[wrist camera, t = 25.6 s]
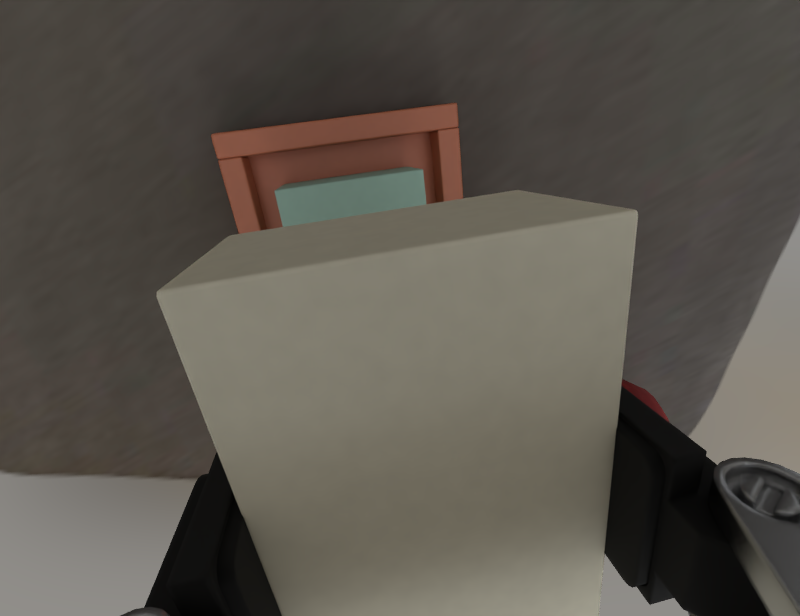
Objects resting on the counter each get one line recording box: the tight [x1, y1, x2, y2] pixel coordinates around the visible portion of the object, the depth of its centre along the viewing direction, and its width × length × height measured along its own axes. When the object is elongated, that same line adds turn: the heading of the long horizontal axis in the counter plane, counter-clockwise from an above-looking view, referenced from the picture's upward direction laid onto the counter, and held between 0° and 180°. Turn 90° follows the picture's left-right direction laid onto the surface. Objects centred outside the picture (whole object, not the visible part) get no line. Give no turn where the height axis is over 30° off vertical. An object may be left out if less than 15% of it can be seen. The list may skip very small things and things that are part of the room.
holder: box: [211, 103, 463, 234], centre depth 20 cm, size 15×10×2 cm
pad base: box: [275, 167, 426, 227], centre depth 19 cm, size 10×6×4 cm, turn 7°
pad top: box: [157, 190, 638, 616], centre depth 8 cm, size 10×6×4 cm, turn 8°
